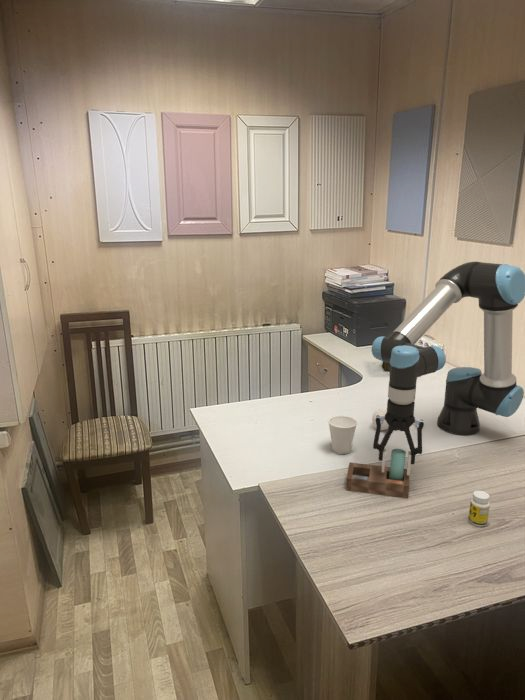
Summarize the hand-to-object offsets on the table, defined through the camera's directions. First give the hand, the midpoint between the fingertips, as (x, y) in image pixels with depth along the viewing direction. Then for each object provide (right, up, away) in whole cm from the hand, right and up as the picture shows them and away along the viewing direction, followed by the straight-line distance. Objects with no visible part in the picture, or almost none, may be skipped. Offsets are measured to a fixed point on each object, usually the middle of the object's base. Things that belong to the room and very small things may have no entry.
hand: (395, 471), depth 154 cm
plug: (0, -5, +1) cm, 5 cm away
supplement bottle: (+18, -10, -15) cm, 26 cm away
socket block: (-5, -5, +3) cm, 7 cm away
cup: (-12, +1, +24) cm, 28 cm away
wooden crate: (+25, +26, +108) cm, 114 cm away
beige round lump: (+5, +6, +41) cm, 42 cm away
